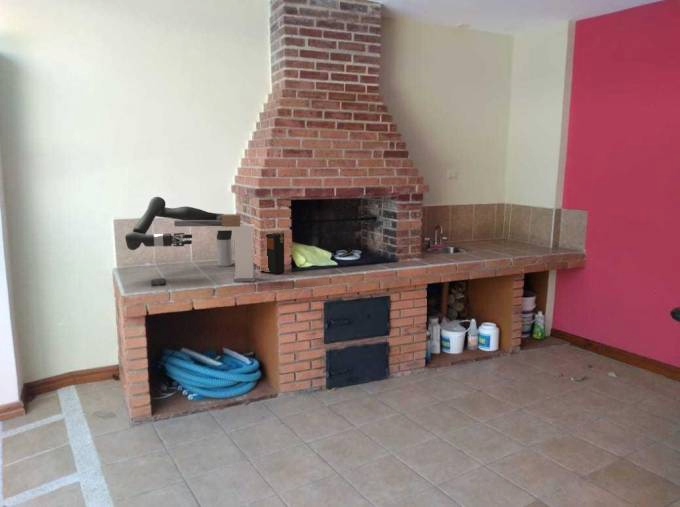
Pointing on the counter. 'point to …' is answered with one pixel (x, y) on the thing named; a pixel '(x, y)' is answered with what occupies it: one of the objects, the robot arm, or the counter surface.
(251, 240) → the shelf stand
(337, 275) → the counter surface
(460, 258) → the counter surface
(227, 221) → the carriage
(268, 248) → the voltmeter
